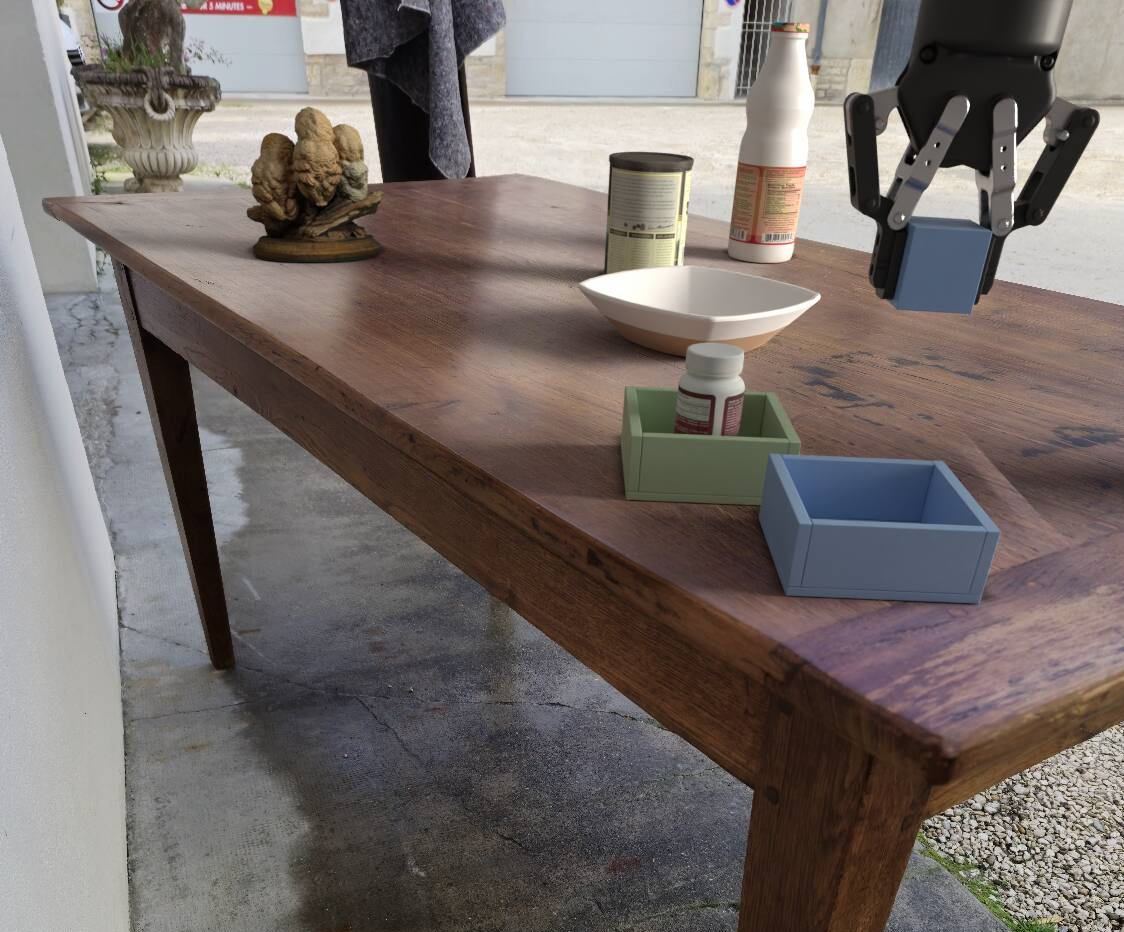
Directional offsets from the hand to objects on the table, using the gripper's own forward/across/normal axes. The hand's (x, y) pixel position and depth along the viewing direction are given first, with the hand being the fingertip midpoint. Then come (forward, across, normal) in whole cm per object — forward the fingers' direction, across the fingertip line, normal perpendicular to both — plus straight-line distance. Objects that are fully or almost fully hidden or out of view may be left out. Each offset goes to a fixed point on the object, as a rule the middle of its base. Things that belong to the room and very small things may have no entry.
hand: (926, 298), depth 62 cm
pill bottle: (+14, -11, +9) cm, 20 cm away
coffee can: (+15, -13, +78) cm, 80 cm away
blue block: (0, 0, 0) cm, 0 cm away
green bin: (+15, -11, +9) cm, 20 cm away
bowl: (+15, -9, +48) cm, 51 cm away
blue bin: (+15, -2, -5) cm, 16 cm away
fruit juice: (+14, +4, +98) cm, 99 cm away
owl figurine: (+15, -56, +85) cm, 103 cm away
